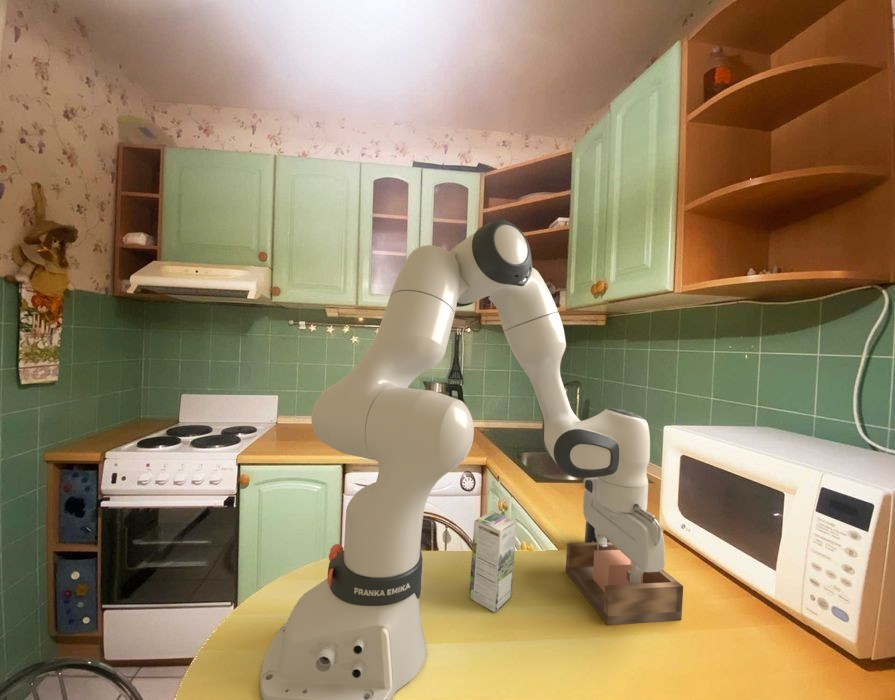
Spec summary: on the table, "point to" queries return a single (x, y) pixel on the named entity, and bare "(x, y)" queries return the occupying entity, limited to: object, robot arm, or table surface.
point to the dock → (625, 591)
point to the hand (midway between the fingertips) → (617, 567)
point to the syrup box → (492, 560)
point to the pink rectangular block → (611, 568)
